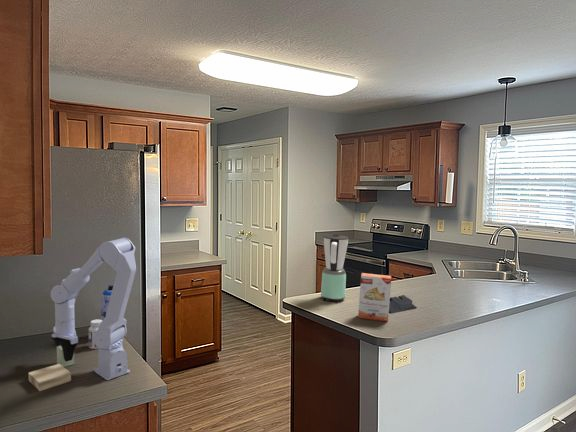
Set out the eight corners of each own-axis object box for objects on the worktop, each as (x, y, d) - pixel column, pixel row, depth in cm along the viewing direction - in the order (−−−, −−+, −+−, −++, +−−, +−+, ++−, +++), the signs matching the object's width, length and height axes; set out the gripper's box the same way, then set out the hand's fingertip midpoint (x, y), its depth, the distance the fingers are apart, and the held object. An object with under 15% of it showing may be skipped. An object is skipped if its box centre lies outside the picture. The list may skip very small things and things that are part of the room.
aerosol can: (97, 334, 171) (97, 285, 169) (117, 329, 177) (116, 282, 175) (105, 340, 166) (105, 289, 163) (125, 335, 171) (125, 286, 169)
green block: (74, 363, 145) (74, 346, 144) (61, 367, 142) (61, 350, 141) (69, 360, 148) (69, 343, 147) (56, 363, 144) (56, 346, 144)
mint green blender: (322, 293, 241) (325, 232, 238) (346, 296, 239) (349, 233, 235) (318, 303, 223) (321, 237, 219) (344, 306, 220) (347, 239, 217)
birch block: (71, 381, 134) (70, 372, 134) (39, 392, 127) (39, 382, 127) (59, 372, 140) (59, 363, 140) (28, 381, 133) (28, 372, 133)
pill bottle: (106, 343, 163) (106, 318, 162) (101, 349, 157) (100, 323, 156) (92, 343, 162) (92, 318, 161) (86, 349, 157) (85, 323, 156)
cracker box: (357, 318, 203) (360, 275, 201) (358, 314, 209) (361, 272, 206) (388, 322, 200) (391, 278, 197) (388, 318, 205) (391, 275, 203)
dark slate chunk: (368, 306, 223) (369, 297, 223) (397, 300, 236) (397, 292, 235) (390, 315, 211) (391, 305, 210) (419, 308, 223) (420, 299, 223)
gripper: (43, 316, 145) (44, 355, 146) (61, 328, 135) (62, 369, 137) (65, 311, 150) (65, 349, 151) (84, 322, 141) (84, 362, 142)
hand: (65, 358), depth 145 cm, fingers closed on green block, 4 cm apart
